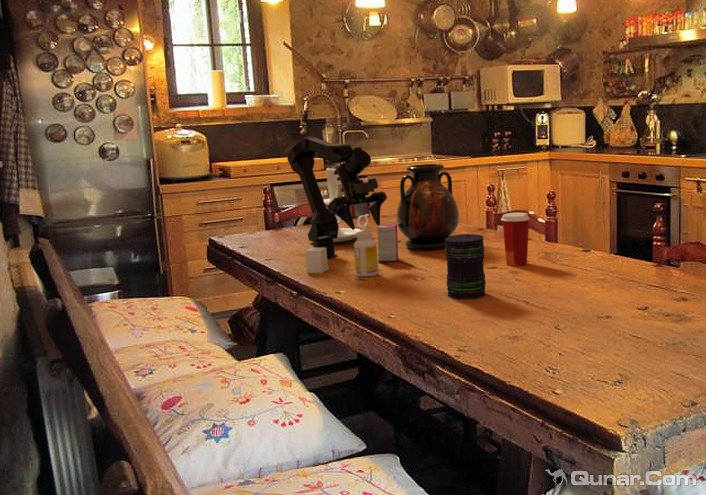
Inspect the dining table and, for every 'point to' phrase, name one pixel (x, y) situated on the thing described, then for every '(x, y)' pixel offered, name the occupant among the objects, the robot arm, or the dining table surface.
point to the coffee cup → (516, 238)
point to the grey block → (316, 260)
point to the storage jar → (465, 266)
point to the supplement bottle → (365, 254)
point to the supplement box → (387, 243)
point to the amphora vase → (427, 208)
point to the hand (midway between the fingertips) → (366, 227)
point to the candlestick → (343, 233)
